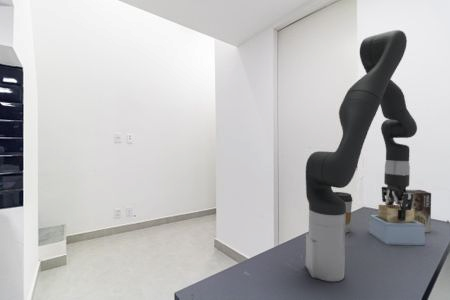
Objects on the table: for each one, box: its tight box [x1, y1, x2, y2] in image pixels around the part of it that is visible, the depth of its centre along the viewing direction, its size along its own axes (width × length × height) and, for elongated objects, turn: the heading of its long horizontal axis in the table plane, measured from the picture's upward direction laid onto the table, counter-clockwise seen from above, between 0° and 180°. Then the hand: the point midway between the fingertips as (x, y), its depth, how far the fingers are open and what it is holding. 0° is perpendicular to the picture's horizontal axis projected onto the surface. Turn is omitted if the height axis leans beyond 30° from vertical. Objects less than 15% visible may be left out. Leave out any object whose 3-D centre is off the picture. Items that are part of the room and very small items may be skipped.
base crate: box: [368, 214, 426, 246], centre depth 88 cm, size 13×11×7 cm
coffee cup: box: [333, 191, 353, 234], centre depth 96 cm, size 8×8×15 cm
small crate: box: [377, 204, 414, 223], centre depth 88 cm, size 9×6×5 cm, turn 88°
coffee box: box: [401, 189, 432, 233], centre depth 97 cm, size 9×6×16 cm
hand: (395, 217), depth 88 cm, fingers closed on small crate, 6 cm apart
